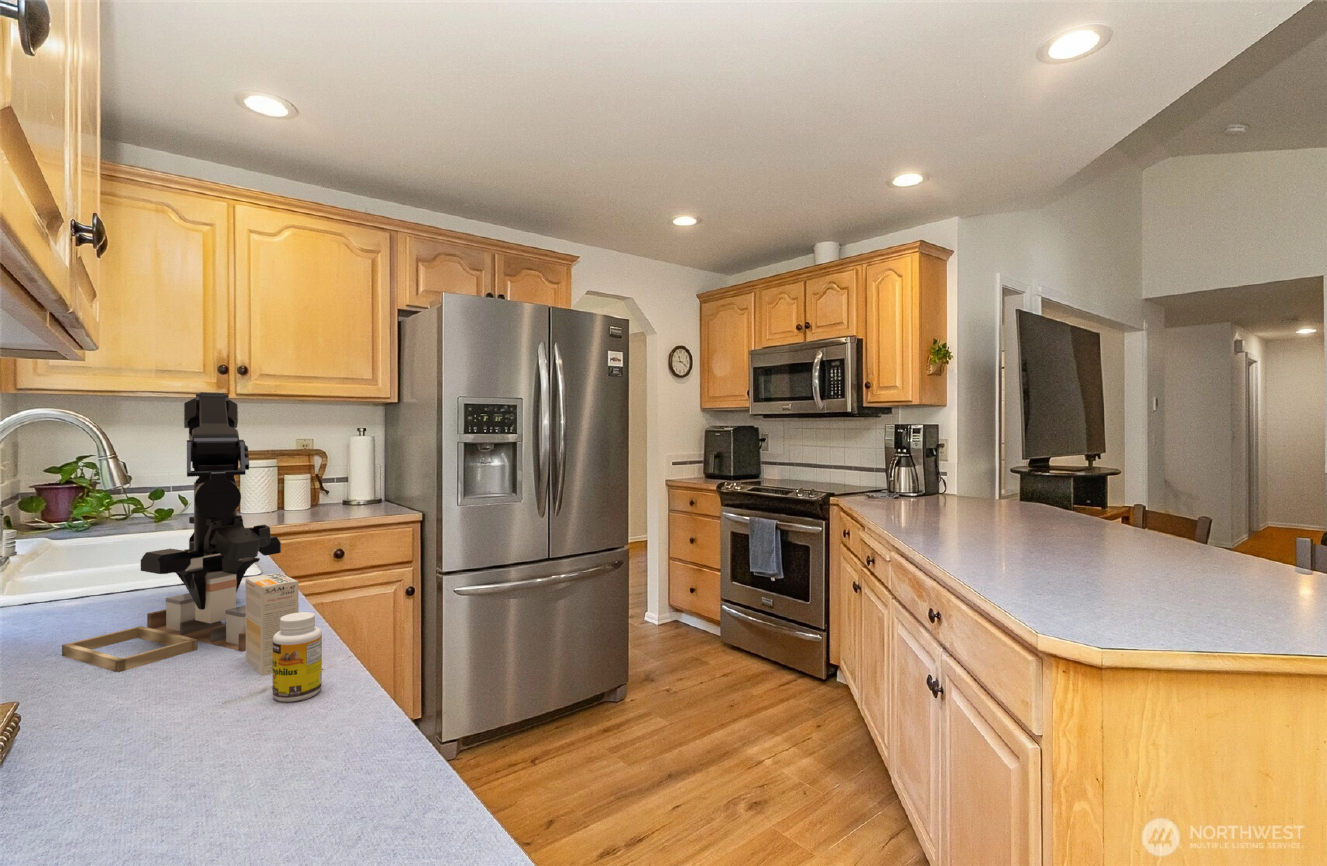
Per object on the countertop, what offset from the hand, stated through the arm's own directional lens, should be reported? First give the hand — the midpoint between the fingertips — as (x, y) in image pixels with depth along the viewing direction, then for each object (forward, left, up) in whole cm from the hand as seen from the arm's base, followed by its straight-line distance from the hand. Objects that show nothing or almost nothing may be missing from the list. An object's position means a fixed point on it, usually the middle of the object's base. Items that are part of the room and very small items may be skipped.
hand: (215, 605), depth 105 cm
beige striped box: (0, 0, -2) cm, 2 cm away
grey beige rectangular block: (-8, 0, -4) cm, 9 cm away
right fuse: (+8, 0, -4) cm, 9 cm away
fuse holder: (0, 0, -5) cm, 5 cm away
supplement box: (+21, -5, -6) cm, 22 cm away
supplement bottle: (+32, -9, -6) cm, 34 cm away
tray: (-2, -11, -5) cm, 12 cm away
